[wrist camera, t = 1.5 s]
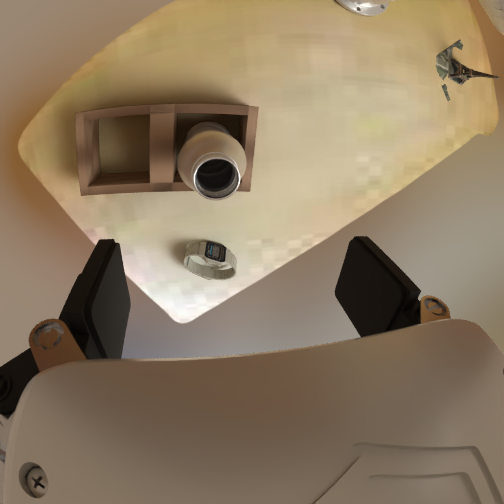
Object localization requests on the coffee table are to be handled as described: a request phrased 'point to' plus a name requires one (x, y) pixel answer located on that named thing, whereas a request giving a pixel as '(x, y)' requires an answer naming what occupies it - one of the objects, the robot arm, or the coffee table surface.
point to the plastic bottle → (211, 161)
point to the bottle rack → (153, 147)
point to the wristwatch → (210, 260)
